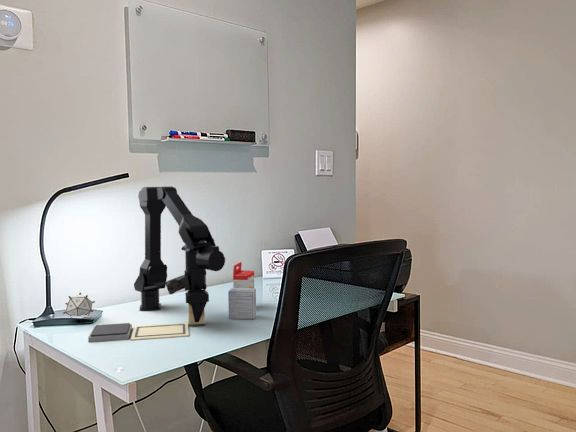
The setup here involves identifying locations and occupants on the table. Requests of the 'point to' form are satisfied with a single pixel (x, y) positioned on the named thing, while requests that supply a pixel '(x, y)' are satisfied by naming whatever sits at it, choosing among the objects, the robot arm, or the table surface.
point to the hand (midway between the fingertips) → (196, 319)
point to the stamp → (191, 318)
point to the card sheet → (160, 331)
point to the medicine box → (242, 303)
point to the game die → (79, 305)
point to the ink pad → (110, 332)
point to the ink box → (242, 277)
